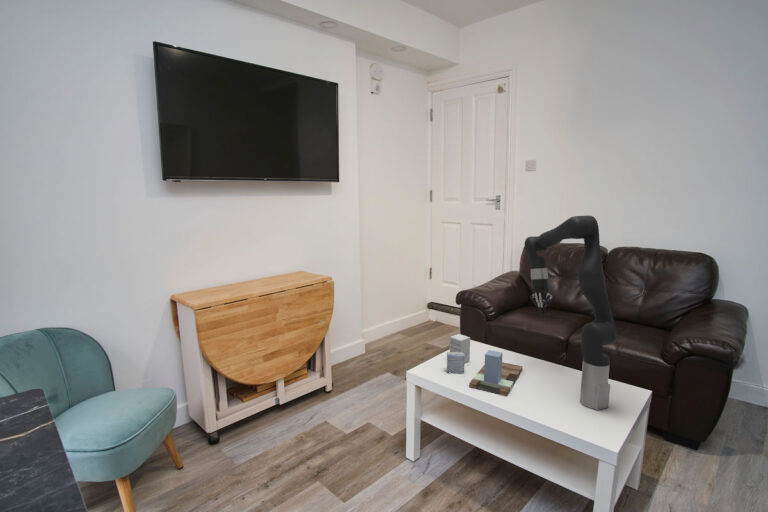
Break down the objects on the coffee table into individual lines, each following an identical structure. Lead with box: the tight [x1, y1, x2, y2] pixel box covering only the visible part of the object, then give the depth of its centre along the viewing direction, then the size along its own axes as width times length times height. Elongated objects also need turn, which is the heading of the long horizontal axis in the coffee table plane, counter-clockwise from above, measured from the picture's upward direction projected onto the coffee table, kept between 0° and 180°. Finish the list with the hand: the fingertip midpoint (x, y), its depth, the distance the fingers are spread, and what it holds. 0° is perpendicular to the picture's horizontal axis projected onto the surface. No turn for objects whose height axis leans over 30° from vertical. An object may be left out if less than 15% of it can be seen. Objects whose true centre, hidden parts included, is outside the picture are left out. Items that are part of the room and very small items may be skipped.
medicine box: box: [446, 351, 465, 374], centre depth 188 cm, size 8×4×9 cm, turn 84°
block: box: [483, 349, 504, 384], centre depth 174 cm, size 6×6×12 cm
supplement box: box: [449, 333, 471, 364], centre depth 200 cm, size 7×7×13 cm
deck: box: [468, 361, 524, 397], centre depth 181 cm, size 30×16×2 cm, turn 150°
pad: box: [472, 373, 514, 392], centre depth 175 cm, size 6×16×2 cm, turn 60°
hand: (543, 315), depth 188 cm, fingers closed
